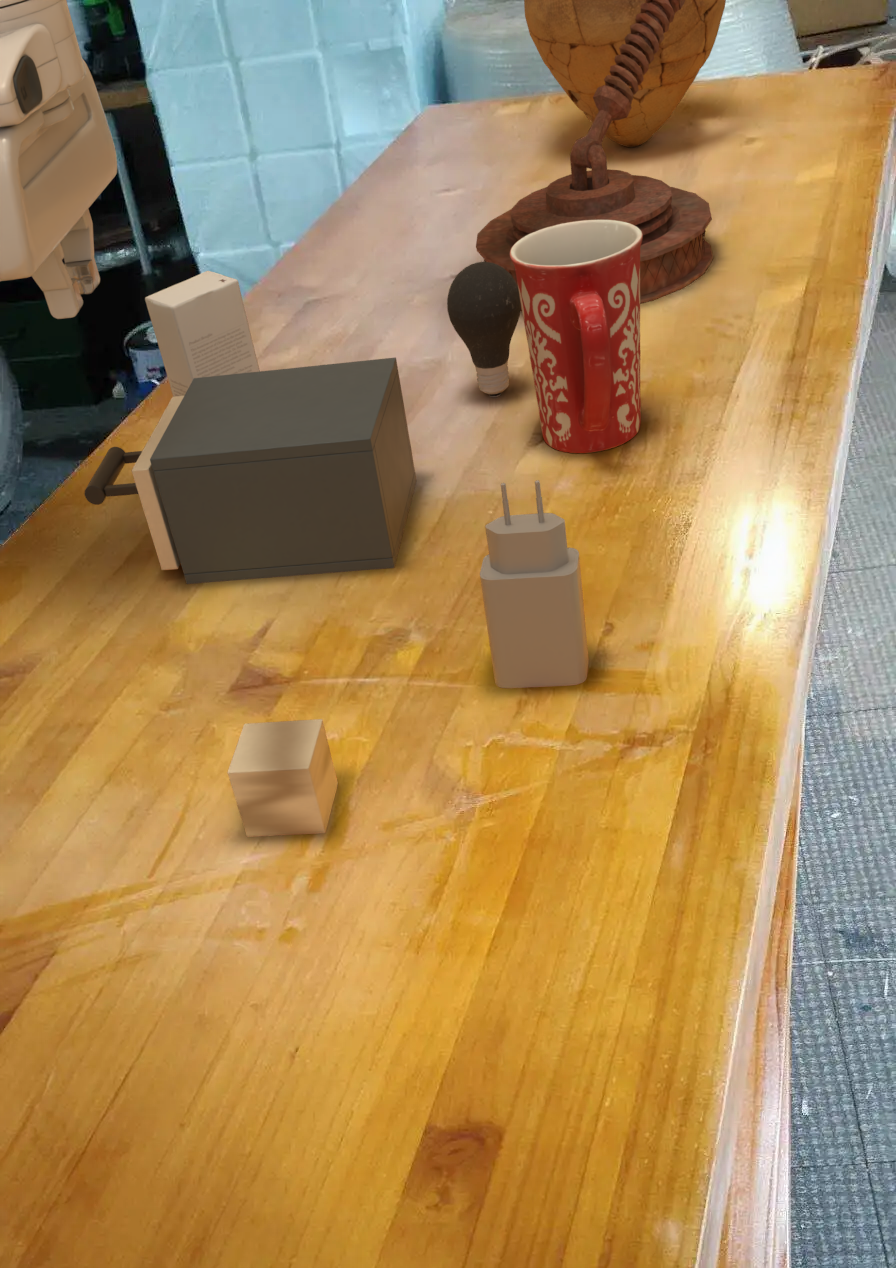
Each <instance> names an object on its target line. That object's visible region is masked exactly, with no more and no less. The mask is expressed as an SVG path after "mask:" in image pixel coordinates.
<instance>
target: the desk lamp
mask: <svg viewBox="0 0 896 1268" xmlns="http://www.w3.org/2000/svg"><path fill="white" fill-rule="evenodd" d="M685 1H686V0H646V1H645V2H646V3H642V4H641V6H640V13H639V14H637V15H636V19H635V21H636V24H633V25H631V26H630V30H631V33H629V34H628V35H627V36H626V37H625V43H626V44H622V45H621V46H620V48H619V49H620V54H621V55H617V56H615V63H616V65H612V66H610V73H611V75H607V76H606V77H605V79H604V81H605V85H603V86H601V87H598V88H597V90H596V92H595V94H594V96H593V99H594V102H595V105H596V107H597V109H598V111H599V112H598V114H597V116H596V118H595V120H594V122H593V124H592V123H591V126H590V128H589V130H588V132H587V134H586V135H585V136H582V137H580V138H577V139H576V140H575V142H574V143H573V145H572V147H571V150H570V153H569V160H570V162H569V163H570V174H567V175H565V176H562V177H560V178H559V177H558V178H557V179H556V180H554V181H552V182H550V183H549V184H548V185H547V186H546V187H543V188H540V189H537V190H535V191H533V192H531V193H529V194H528V195H526V196H524V197H523V198H520V199H519V200H518V201H517V202H516V203H515V204H514V205H513V207H512V208H511V209H508V210H506V211H505V212H503V213H501V214H499V215H498V216H496V217H495V218H493V219H491V220H489V222H487V224H485V226H484V227H482V229H480V231H479V232H478V233H477V235H476V243H475V249H476V252H477V253H478V254H479V255H480V256H481V257H482V259H483V262H491V263H495V264H497V265H499V266H501V267H503V268H504V269H505V270H506V271H508V272H509V273H510V274H511V276H512V277H513V278H514V280H515V281H516V283H517V277H516V271H515V266H514V264H513V262H512V260H511V258H510V250H511V248H512V246H513V245H514V244H515V243H516V242H517V241H519V240H520V239H521V238H523V237H525V236H527V235H529V234H531V233H533V232H535V231H538V230H541V229H544V228H547V227H551V226H555V225H559V224H563V223H569V222H576V221H584V220H615V221H622V222H626V223H630V224H632V225H634V226H636V227H638V228H639V229H640V230H641V232H642V234H643V238H642V243H641V247H640V305H641V304H645V303H649V302H653V301H655V300H658V299H660V298H664V297H666V296H668V295H670V294H672V293H675V292H678V291H680V290H682V289H684V288H685V287H687V286H689V285H690V284H692V283H693V282H694V281H696V280H697V279H699V278H701V277H702V276H703V275H704V274H705V273H706V271H707V269H708V268H709V267H710V265H711V264H712V262H713V260H714V257H713V252H712V247H711V245H710V243H709V242H707V241H706V229H707V228H708V226H709V225H710V223H711V221H712V220H713V216H712V212H711V206H710V203H709V202H708V201H707V200H705V199H704V198H703V197H701V196H700V195H698V194H697V193H695V192H692V191H688V190H686V189H685V190H684V189H681V188H677V187H675V186H670V185H668V184H667V183H666V182H665V181H663V180H661V179H658V178H654V177H650V176H647V175H638V174H637V175H636V174H631V173H630V172H628V171H623V170H619V169H611V168H608V163H607V162H608V161H607V159H608V158H607V155H606V152H605V150H604V148H603V141H604V139H605V137H606V136H605V134H606V132H607V130H608V128H609V126H610V124H611V122H612V121H614V120H621V119H624V118H627V116H628V114H629V112H630V110H631V104H632V100H633V95H634V94H636V93H637V92H638V90H639V89H638V85H640V84H641V83H642V82H643V80H644V78H643V75H645V74H646V72H647V71H648V67H649V64H650V63H651V62H652V61H653V60H654V54H655V53H656V52H657V51H658V50H659V43H661V42H662V41H663V40H664V33H665V32H667V31H668V30H669V25H670V23H671V22H673V19H674V15H675V13H676V12H677V11H678V10H680V9H681V8H682V6H683V4H684V3H685ZM645 55H646V57H645ZM640 66H641V67H640ZM634 76H635V77H636V78H635V77H634ZM629 86H631V88H630V87H629ZM625 96H626V97H625ZM587 169H591V170H587ZM517 286H518V283H517ZM520 312H522V308H521V311H520Z"/></svg>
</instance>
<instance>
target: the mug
mask: <svg viewBox="0 0 896 1268" xmlns="http://www.w3.org/2000/svg"><path fill="white" fill-rule="evenodd" d="M642 238H643V234H642V232H641V230H640V229H639V228H638V227H636V226H634V225H632V224H630V223H626V222H622V221H615V220H584V221H576V222H569V223H563V224H559V225H555V226H551V227H547V228H544V229H541V230H538V231H535V232H533V233H531V234H529V235H527V236H525V237H523V238H521V239H520V240H519V241H517V242H516V243H515V244H514V245H513V246H512V248H511V250H510V258H511V260H512V262H513V264H514V266H515V271H516V277H517V283H518V289H519V296H520V302H521V308H522V311H521V312H522V317H523V318H522V319H523V325H524V330H525V337H526V342H527V347H528V352H529V360H530V364H531V365H530V366H531V372H532V378H533V384H534V385H533V386H534V390H535V391H534V392H535V397H536V402H537V408H538V414H539V421H540V429H541V433H542V434H541V435H542V438H543V441H544V442H545V443H546V445H548V446H550V447H551V449H552V448H553V449H554V450H557V451H560V452H565V453H570V454H588V453H589V454H590V453H596V452H601V451H602V452H603V451H606V450H610V449H614V448H616V447H619V446H622V445H624V444H625V443H627V442H629V441H630V440H632V439H634V437H635V436H637V434H638V433H639V431H640V429H641V422H642V421H641V420H642V419H641V418H642V416H641V414H642V413H641V412H642V411H641V408H642V400H641V304H640V247H641V243H642Z"/></svg>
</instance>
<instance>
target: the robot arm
mask: <svg viewBox="0 0 896 1268" xmlns="http://www.w3.org/2000/svg"><path fill="white" fill-rule="evenodd" d="M117 173H118V158H117V150H116V146H115V143H114V139H113V136H112V132H111V129H110V126H109V124H108V120H107V117H106V114H105V110H104V106H103V104H102V102H101V98H100V95H99V92H98V89H97V87H96V84H95V80H94V78H93V75H92V73H91V71H90V69H89V66H88V64H87V63H86V61H85V60H84V59H83V56H82V51H81V48H80V44H79V41H78V38H77V33H76V31H75V27H74V24H73V19H72V16H71V13H70V8H69V5H68V1H67V0H0V282H6V281H14V280H20V279H27V278H30V277H31V278H32V279H33V280H34V282H35V283H36V285H37V286H38V287H39V289H40V290H41V291H42V293H43V295H44V298H45V301H46V304H47V307H48V311H49V313H50V315H51V316H52V317H53V318H54V319H57V320H62V319H71V318H75V317H76V316H77V315H78V313H79V312H80V310H82V308H83V305H84V300H83V297H82V295H90V294H92V293H94V291H95V290H96V288H98V286H99V285H100V283H101V276H100V273H99V269H98V266H97V262H96V259H95V244H94V223H93V220H92V216H91V213H90V207H91V206H92V205H93V204H94V202H96V200H97V199H98V198H99V196H100V195H101V194H102V193H103V191H104V190H105V189H106V188H107V187H108V186H109V184H110V183H111V182H112V181H113V179H114V178H115V177H117V176H116V175H117ZM63 261H64V262H63Z"/></svg>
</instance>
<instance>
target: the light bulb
mask: <svg viewBox="0 0 896 1268" xmlns="http://www.w3.org/2000/svg"><path fill="white" fill-rule="evenodd" d="M446 308H447V313H448V314H447V315H448V317H449V321H450V323H451V325H452V327H453V329H454V331H455V333H457V335H458V336H459V338H460V339H461V341H462V342H463V343H464V345H465V346H466V348H467V349H468V352H469V354H470V358H471V361H472V363H473V365H474V368H475V372H476V377H477V378H476V380H477V386H478V388H479V390H480V392H482V393H484V394H487V395H488V396H489V397H490V398H497V397H500V396H501V395H502V393H503V392H504V391H505V390H506V389H507V388H508V387H509V386H510V382H509V380H510V373H509V366H508V365H509V364H508V363H509V357H510V347H511V342H512V338H513V336H514V333H515V330H516V327H517V325H518V323H519V320H520V316H521V312H522V311H521V302H520V296H519V289H518V286H517V283H516V281H515V280H514V278H513V277H512V276H511V274H510V273H509V272H508V271H506V270H505V269H504V268H503V267H501V266H499V265H497V264H495V263H491V262H484V261H479V262H475V263H471V264H469V265H467V266H465V267H464V268H463V269H462V270H460V271H459V272H458V273H457V275H455V277H454V279H453V280H452V282H451V284H450V287H449V289H448V294H447V299H446Z"/></svg>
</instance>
